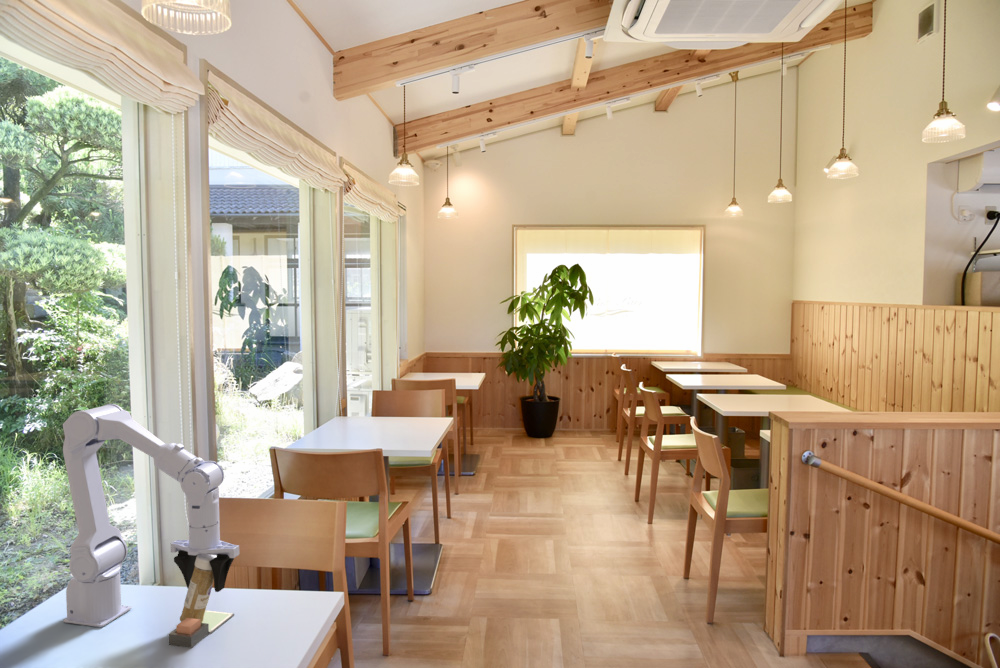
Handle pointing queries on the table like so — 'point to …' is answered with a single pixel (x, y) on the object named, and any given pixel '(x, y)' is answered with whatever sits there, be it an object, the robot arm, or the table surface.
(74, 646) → the table surface
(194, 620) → the button
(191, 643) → the button housing
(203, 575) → the sprinkles bottle
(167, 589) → the table surface
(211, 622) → the picture board
